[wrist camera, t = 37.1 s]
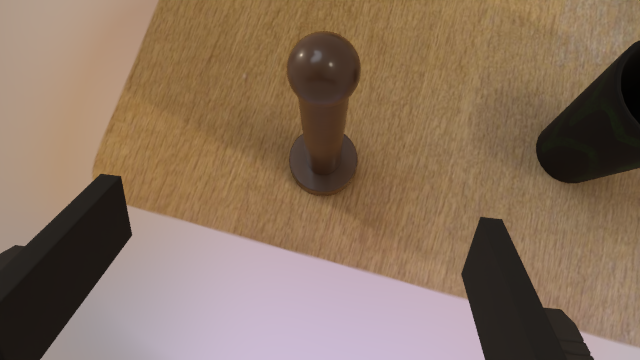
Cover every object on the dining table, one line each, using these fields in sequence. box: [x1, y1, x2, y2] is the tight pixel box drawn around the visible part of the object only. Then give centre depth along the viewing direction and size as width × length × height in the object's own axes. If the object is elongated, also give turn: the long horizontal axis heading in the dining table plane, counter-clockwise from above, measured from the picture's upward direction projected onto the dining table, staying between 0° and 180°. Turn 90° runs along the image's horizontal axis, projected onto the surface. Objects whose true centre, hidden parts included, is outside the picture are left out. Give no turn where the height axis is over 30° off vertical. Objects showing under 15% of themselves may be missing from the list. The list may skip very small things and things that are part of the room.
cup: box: [536, 40, 640, 183], centre depth 31 cm, size 8×8×12 cm
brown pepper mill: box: [287, 31, 361, 196], centre depth 28 cm, size 6×6×18 cm
